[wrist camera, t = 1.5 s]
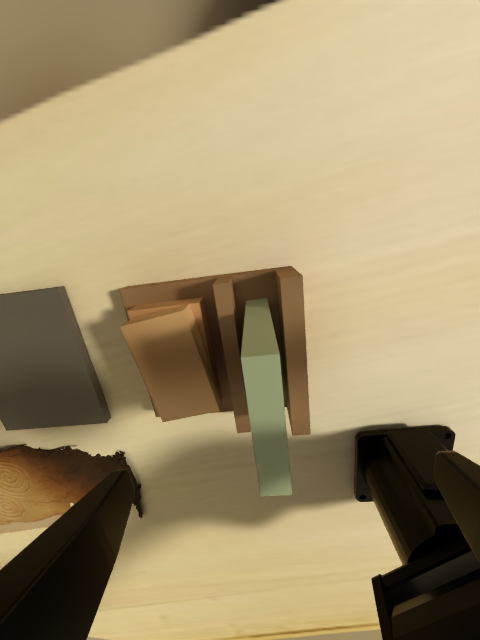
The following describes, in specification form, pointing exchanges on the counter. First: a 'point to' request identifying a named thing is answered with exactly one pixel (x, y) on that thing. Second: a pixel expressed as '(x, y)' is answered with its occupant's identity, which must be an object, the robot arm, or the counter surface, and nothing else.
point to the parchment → (50, 483)
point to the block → (265, 399)
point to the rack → (227, 331)
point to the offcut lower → (200, 318)
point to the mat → (45, 364)
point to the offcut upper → (173, 363)
